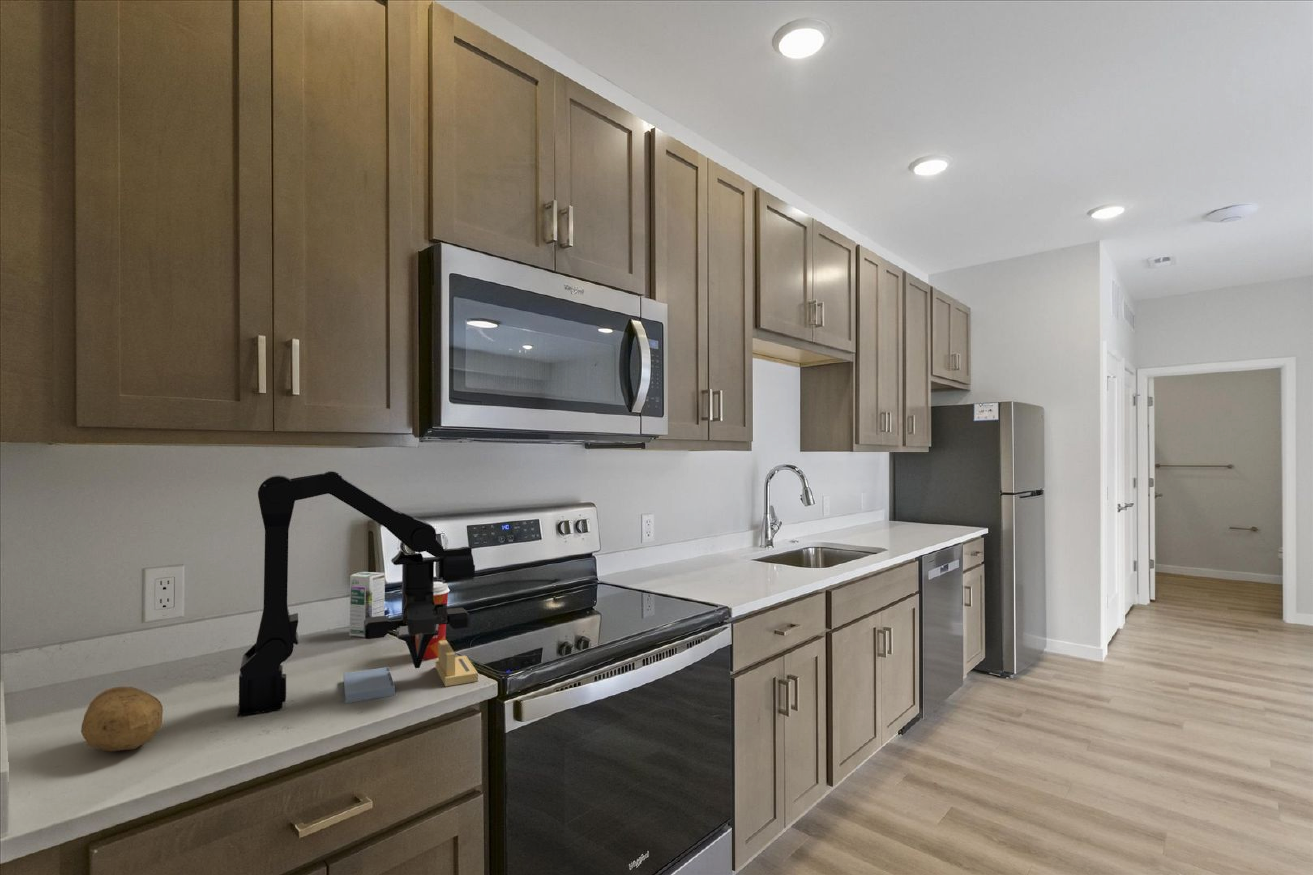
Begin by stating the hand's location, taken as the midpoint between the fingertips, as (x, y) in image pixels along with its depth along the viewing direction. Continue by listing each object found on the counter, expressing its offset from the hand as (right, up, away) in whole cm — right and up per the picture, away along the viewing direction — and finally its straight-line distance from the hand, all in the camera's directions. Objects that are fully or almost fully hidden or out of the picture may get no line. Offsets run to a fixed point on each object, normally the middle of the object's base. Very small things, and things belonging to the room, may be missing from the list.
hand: (417, 667), depth 125 cm
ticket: (-8, -2, -4) cm, 9 cm away
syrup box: (-24, -3, +32) cm, 40 cm away
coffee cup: (-3, -3, +15) cm, 16 cm away
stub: (+7, -3, +3) cm, 8 cm away
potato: (-34, -2, -27) cm, 44 cm away
